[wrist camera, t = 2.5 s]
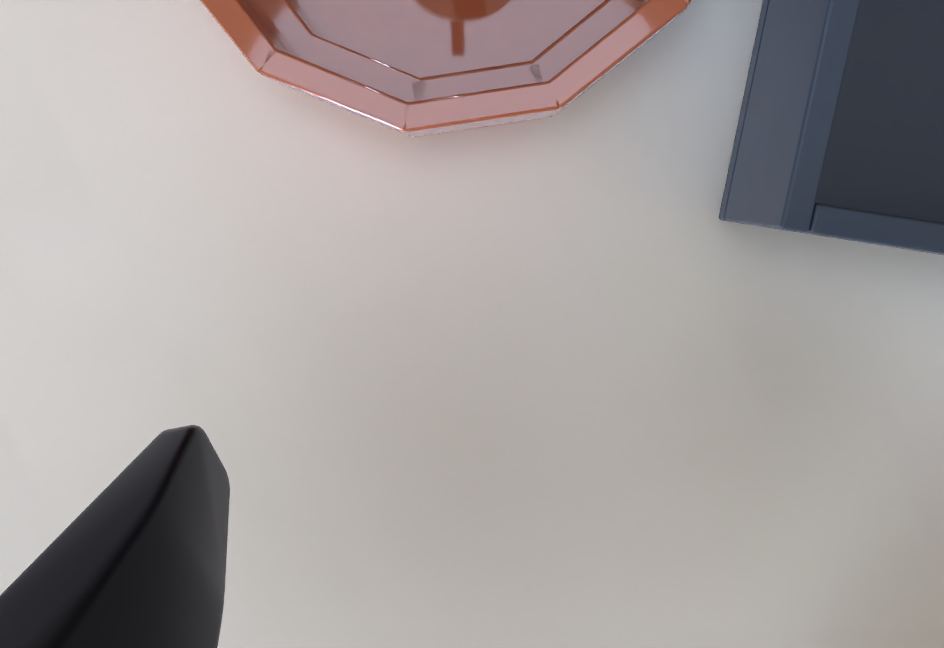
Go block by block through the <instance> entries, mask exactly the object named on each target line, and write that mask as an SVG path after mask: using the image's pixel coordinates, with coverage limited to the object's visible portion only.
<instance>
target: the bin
mask: <svg viewBox="0 0 944 648" xmlns="http://www.w3.org/2000/svg"><path fill="white" fill-rule="evenodd" d="M719 219H720V220H724V221H731V222H737V223H743V224H750V225H756V226H762V227H769V228H775V229H782V230H788V231H794V232H801V233H807V234H813V235H820V236H826V237H833V238H839V239H845V240H852V241H858V242H864V243H871V244H877V245H884V246H890V247H896V248H903V249H909V250H915V251H922V252H928V253H935V254H941V255H944V0H763V5H762V10H761V15H760V20H759V25H758V29H757V34H756V39H755V44H754V49H753V54H752V59H751V64H750V68H749V73H748V78H747V83H746V88H745V93H744V98H743V102H742V107H741V112H740V117H739V122H738V127H737V132H736V136H735V141H734V146H733V151H732V156H731V161H730V166H729V171H728V175H727V180H726V185H725V190H724V195H723V200H722V205H721V209H720V214H719Z"/></svg>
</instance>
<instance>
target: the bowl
mask: <svg viewBox="0 0 944 648" xmlns="http://www.w3.org/2000/svg"><path fill="white" fill-rule="evenodd" d="M200 1H201V2H202V3H203V4H204V6H205V7H206V8H207V9H208V11H209V12H210V13H211V14H212V16H213V17H214V18H215V19H216V21H217V22H218V23H219V24H220V26H221V27H222V28H223V29H224V31H225V32H226V33H227V35H228V36H229V37H230V38H231V40H232V41H233V42H234V43H235V45H236V46H237V47H238V48H239V50H240V51H241V52H242V53H243V55H244V56H245V57H246V58H247V60H248V61H249V62H250V63H251V65H252V66H253V67H254V68H255V70H256V71H257V72H259V73H261V74H262V75H264V76H266V77H268V78H270V79H272V80H274V81H276V82H278V83H280V84H282V85H285V86H287V87H290V88H292V89H295V90H297V91H300V92H302V93H305V94H307V95H310V96H312V97H314V98H317V99H319V100H322V101H324V102H327V103H329V104H332V105H334V106H337V107H339V108H341V109H344V110H346V111H349V112H351V113H354V114H356V115H359V116H361V117H364V118H366V119H368V120H371V121H373V122H376V123H378V124H381V125H383V126H386V127H388V128H391V129H393V130H396V131H398V132H400V133H403V134H405V135H408V136H414V137H418V136H425V135H432V134H438V133H445V132H452V131H458V130H465V129H472V128H478V127H485V126H492V125H498V124H505V123H512V122H518V121H525V120H532V119H538V118H545V117H551V116H553V115H555V114H557V113H559V112H560V111H561V110H562V109H564V108H565V107H566V106H567V105H569V104H570V103H571V102H572V101H574V100H575V99H576V98H577V97H579V96H580V95H581V94H582V93H584V92H585V91H586V90H587V89H589V88H590V87H591V86H592V85H594V84H595V83H596V82H597V81H599V80H600V79H601V78H602V77H604V76H605V75H606V74H607V73H609V72H610V71H611V70H612V69H614V68H615V67H616V66H617V65H619V64H620V63H621V62H622V61H624V60H625V59H626V58H627V57H629V56H630V55H631V54H632V53H634V52H635V51H636V50H637V49H639V48H640V47H641V46H642V45H644V44H645V43H646V42H647V41H649V40H650V39H651V38H652V37H654V36H655V35H656V34H657V33H659V32H660V31H661V30H662V29H664V28H665V27H666V26H667V25H669V24H670V23H671V22H672V21H673V20H674V19H675V18H676V17H677V16H678V15H680V14H681V13H682V12H683V11H684V10H685V9H686V8H687V6H688V5H689V4H690V2H691V0H200Z"/></svg>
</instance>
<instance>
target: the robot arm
mask: <svg viewBox="0 0 944 648" xmlns="http://www.w3.org/2000/svg"><path fill="white" fill-rule="evenodd" d="M229 497H230V486H229V480H228V476H227V473H226V470H225V468H224V466H223V465H222V463H221V461H220V459H219V457H218V455H217V453H216V452H215V450H214V448H213V446H212V444H211V442H210V440H209V438H208V437H207V435H206V433H205V432H204V430H203V429H202V428H201V427H199V426H196V425H190V426H184V427H179V428H173V429H168V430H165V431H163V432H162V433H161V434H159V435H158V436H157V437H156V438H155V439H154V440H153V441H152V442H151V443H150V444H149V445H148V446H147V447H146V448H145V449H144V450H143V451H142V452H141V453H140V454H139V455H138V456H137V457H136V458H135V459H134V460H133V462H132V463H131V464H130V465H129V466H128V467H127V468H126V469H125V470H124V471H123V472H122V473H121V474H120V475H119V476H118V477H117V478H116V479H115V480H114V481H113V482H112V483H111V484H110V485H109V486H108V487H107V488H106V489H105V490H104V491H103V492H102V493H101V494H100V495H99V496H98V497H97V498H96V499H95V500H94V501H93V502H92V503H91V504H90V505H89V506H88V507H87V508H86V509H85V510H84V511H83V512H82V513H81V514H80V515H79V516H78V517H77V518H76V519H75V520H74V521H73V522H72V523H71V524H70V525H69V526H68V527H67V528H66V529H65V530H64V531H63V532H62V533H61V534H60V535H59V537H58V538H57V539H56V540H55V541H54V542H53V543H52V544H51V545H50V546H49V547H48V548H47V549H46V550H45V551H44V552H43V553H42V554H41V555H40V556H39V557H38V558H37V559H36V560H35V561H34V562H33V563H32V564H31V565H30V566H29V567H28V568H27V569H26V570H25V571H24V572H23V573H22V574H21V575H20V576H19V577H18V578H17V579H16V580H15V581H14V582H13V583H12V584H11V585H10V586H9V587H8V588H7V589H6V590H5V591H4V592H3V593H2V594H1V595H0V648H217V646H218V640H219V634H220V628H221V621H222V613H223V605H224V592H225V575H226V555H227V536H228V516H229Z"/></svg>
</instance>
